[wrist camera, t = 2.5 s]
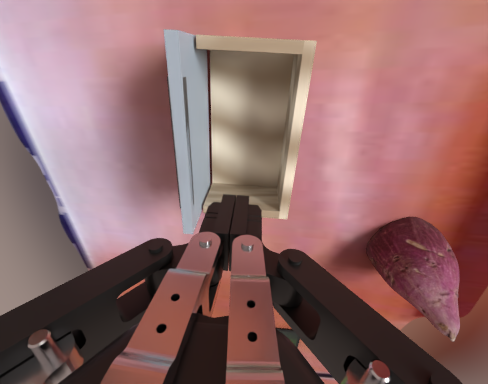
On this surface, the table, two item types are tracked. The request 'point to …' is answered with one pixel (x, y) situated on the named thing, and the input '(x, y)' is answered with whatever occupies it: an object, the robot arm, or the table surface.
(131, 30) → the table surface
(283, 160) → the box
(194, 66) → the cabinet door
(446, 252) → the vegetable
